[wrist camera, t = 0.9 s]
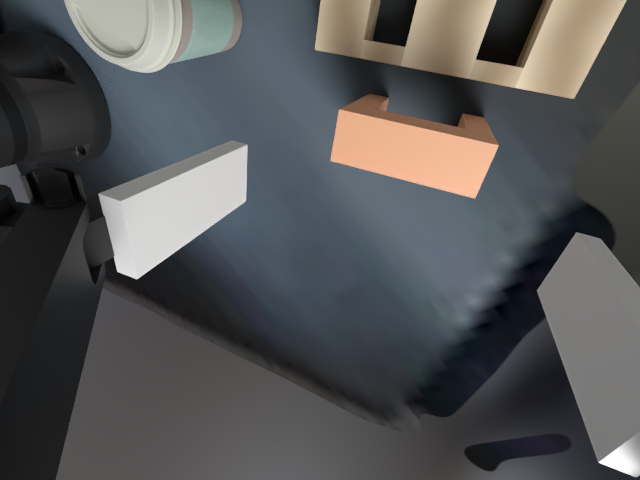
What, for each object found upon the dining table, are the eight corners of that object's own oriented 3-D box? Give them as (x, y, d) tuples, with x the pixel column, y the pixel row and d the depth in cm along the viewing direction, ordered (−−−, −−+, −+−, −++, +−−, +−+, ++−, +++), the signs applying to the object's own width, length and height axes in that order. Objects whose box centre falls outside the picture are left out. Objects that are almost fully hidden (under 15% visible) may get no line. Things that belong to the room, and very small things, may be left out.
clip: (361, 132, 31) (330, 160, 23) (369, 93, 29) (339, 109, 21) (467, 157, 29) (475, 198, 21) (484, 117, 27) (498, 145, 19)
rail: (328, 50, 29) (314, 49, 26) (344, -72, 24) (331, -88, 22) (559, 93, 25) (573, 98, 22) (628, -42, 21) (656, -57, 18)
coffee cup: (161, -7, 31) (30, -34, 21) (224, -67, 27) (98, -134, 17) (208, 82, 34) (110, 95, 24) (271, 40, 30) (185, 34, 20)
